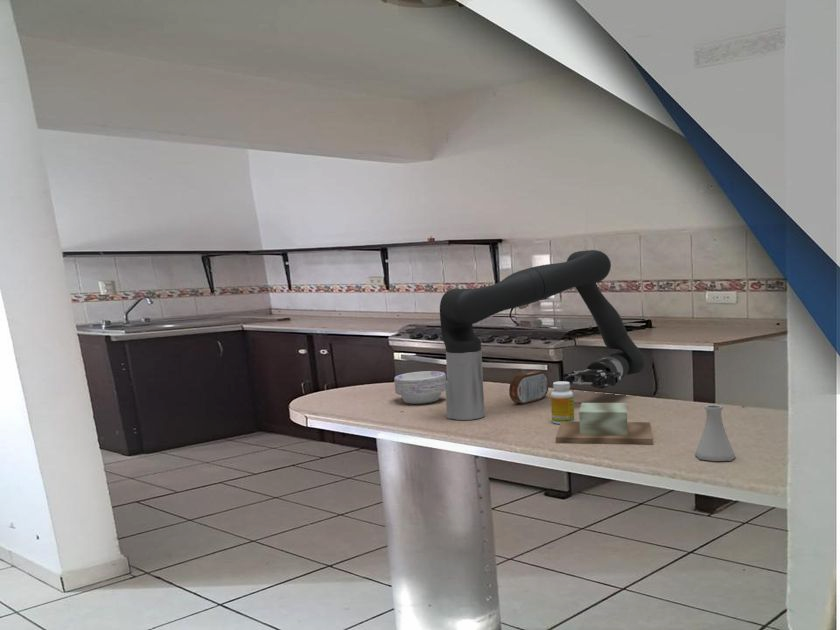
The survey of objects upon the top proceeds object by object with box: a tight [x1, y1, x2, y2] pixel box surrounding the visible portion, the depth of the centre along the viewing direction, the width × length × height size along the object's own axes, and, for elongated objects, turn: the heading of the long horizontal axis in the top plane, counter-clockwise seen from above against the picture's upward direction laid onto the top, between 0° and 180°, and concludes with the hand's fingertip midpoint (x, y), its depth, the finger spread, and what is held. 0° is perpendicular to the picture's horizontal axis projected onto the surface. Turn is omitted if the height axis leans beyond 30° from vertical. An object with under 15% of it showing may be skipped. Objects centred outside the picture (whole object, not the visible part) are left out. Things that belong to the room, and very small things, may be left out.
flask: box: [694, 404, 736, 462], centre depth 135 cm, size 7×7×10 cm
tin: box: [508, 369, 549, 405], centre depth 197 cm, size 15×3×8 cm, turn 133°
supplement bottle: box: [550, 381, 575, 425], centre depth 170 cm, size 5×5×10 cm
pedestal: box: [555, 402, 654, 445], centre depth 156 cm, size 20×15×6 cm
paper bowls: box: [393, 370, 447, 405], centre depth 206 cm, size 15×15×8 cm
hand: (581, 382), depth 179 cm, fingers open, 8 cm apart
